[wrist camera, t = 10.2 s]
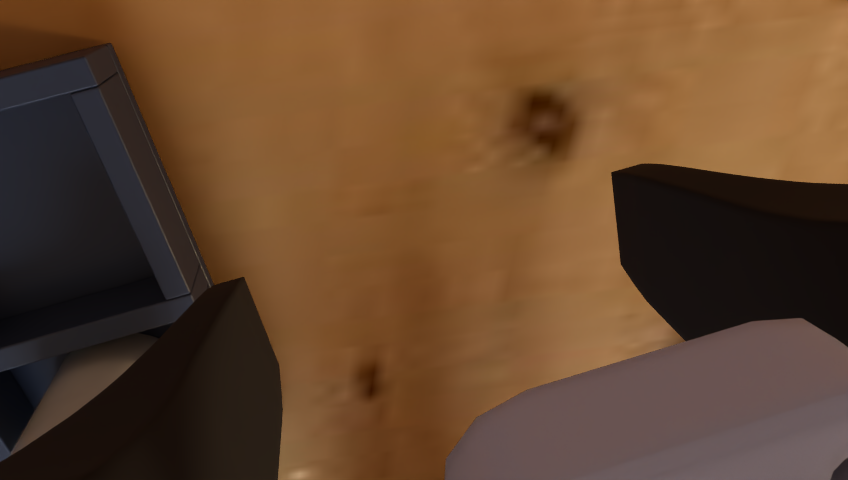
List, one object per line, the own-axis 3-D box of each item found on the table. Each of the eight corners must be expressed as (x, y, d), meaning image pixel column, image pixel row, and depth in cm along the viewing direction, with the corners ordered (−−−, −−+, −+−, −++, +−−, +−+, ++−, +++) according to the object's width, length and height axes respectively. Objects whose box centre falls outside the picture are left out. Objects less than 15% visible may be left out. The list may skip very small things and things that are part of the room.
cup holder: (277, 433, 26) (275, 483, 24) (73, 494, 25) (50, 552, 23) (111, 41, 19) (84, 55, 17) (-170, 113, 19) (-239, 138, 16)
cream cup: (223, 423, 25) (194, 620, 18) (92, 462, 24) (7, 679, 17) (172, 313, 23) (115, 486, 15) (27, 355, 22) (-102, 552, 15)
